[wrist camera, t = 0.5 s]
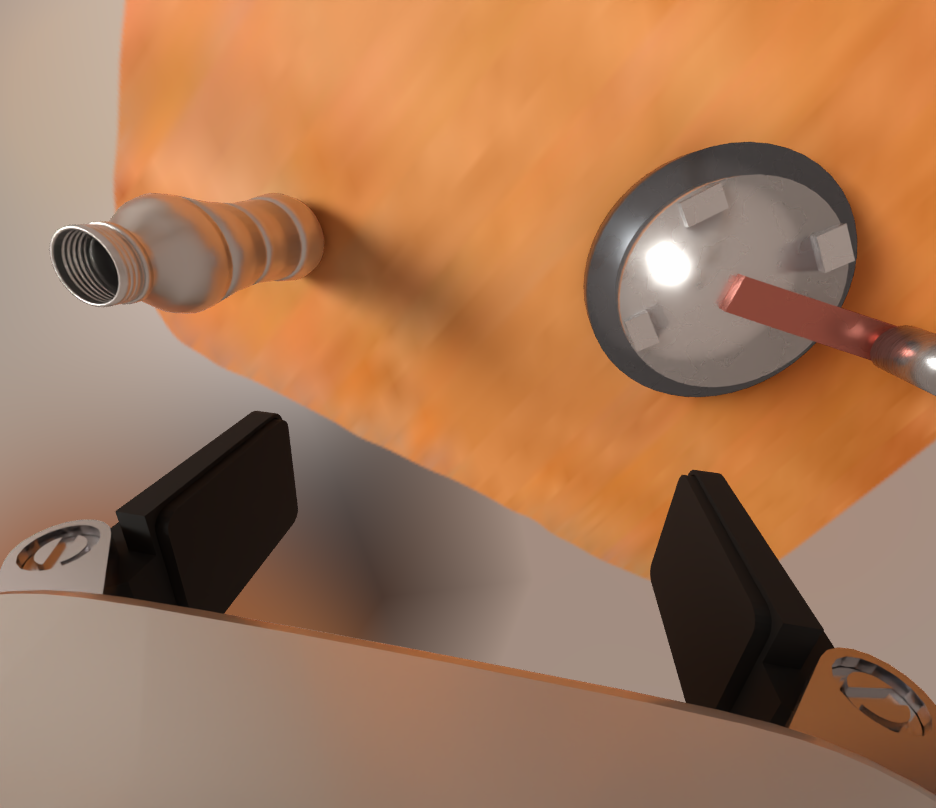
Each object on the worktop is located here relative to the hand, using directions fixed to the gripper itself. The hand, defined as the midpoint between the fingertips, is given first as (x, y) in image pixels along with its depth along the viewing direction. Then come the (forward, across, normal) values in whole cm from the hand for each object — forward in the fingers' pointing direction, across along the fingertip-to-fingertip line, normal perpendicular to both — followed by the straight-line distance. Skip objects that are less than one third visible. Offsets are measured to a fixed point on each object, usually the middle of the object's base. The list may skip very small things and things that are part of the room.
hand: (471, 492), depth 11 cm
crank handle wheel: (+26, -17, -1) cm, 31 cm away
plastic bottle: (+30, +20, -2) cm, 36 cm away
